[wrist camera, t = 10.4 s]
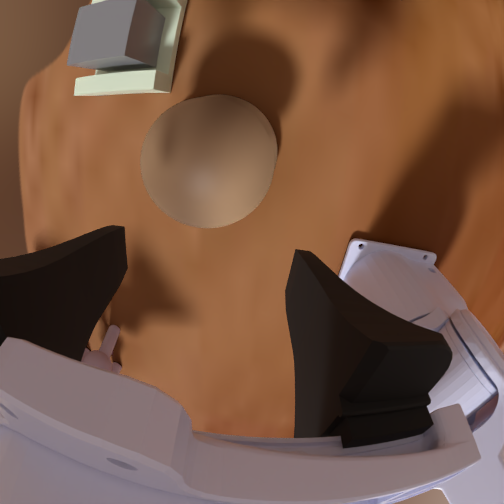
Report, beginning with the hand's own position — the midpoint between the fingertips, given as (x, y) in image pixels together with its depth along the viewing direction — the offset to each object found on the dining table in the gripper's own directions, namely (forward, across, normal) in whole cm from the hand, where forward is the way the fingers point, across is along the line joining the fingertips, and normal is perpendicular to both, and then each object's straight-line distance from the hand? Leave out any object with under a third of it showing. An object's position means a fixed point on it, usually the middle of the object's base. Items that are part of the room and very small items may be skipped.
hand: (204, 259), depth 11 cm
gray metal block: (+9, +8, -11) cm, 16 cm away
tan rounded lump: (+10, +1, -3) cm, 10 cm away
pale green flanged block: (+10, +8, -11) cm, 17 cm away
